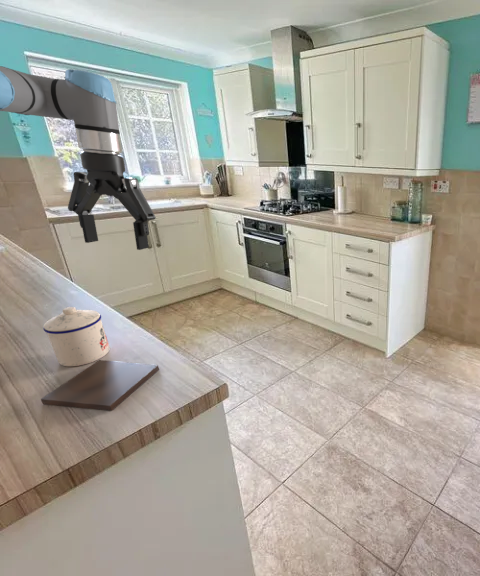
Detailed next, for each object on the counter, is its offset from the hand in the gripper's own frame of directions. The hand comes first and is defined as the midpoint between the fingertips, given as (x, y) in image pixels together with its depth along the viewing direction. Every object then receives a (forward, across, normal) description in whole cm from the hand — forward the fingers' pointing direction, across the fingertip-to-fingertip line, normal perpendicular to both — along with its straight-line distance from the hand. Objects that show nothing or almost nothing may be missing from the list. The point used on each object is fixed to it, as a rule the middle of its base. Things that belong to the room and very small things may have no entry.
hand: (117, 245), depth 80 cm
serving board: (+22, -16, +23) cm, 36 cm away
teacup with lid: (+22, -2, +15) cm, 26 cm away
